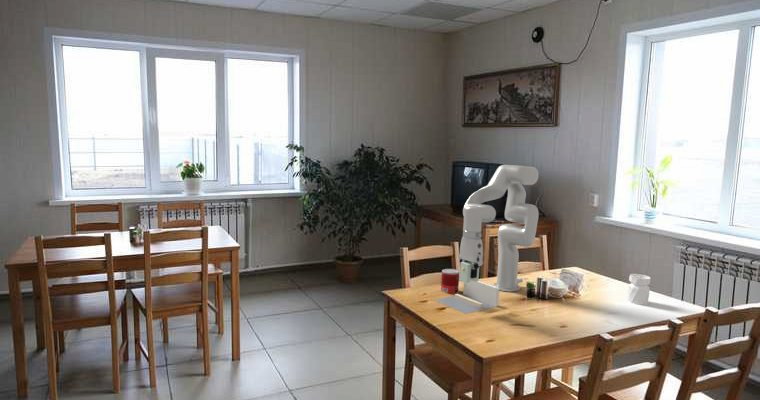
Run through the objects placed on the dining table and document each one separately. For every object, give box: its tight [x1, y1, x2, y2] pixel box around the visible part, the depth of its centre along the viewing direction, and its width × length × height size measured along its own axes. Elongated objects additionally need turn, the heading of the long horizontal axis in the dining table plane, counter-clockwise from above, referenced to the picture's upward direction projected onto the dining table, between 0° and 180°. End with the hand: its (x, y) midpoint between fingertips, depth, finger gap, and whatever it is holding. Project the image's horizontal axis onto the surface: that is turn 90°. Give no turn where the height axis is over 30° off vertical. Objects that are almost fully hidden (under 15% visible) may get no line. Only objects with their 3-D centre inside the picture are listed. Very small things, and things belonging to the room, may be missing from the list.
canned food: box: [440, 268, 460, 294], centre depth 243 cm, size 8×8×11 cm
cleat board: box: [434, 280, 500, 315], centre depth 226 cm, size 19×20×10 cm
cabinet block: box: [459, 261, 480, 283], centre depth 225 cm, size 8×4×8 cm, turn 124°
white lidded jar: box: [627, 273, 652, 306], centre depth 240 cm, size 9×9×12 cm
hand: (469, 275), depth 226 cm, fingers closed on cabinet block, 4 cm apart
